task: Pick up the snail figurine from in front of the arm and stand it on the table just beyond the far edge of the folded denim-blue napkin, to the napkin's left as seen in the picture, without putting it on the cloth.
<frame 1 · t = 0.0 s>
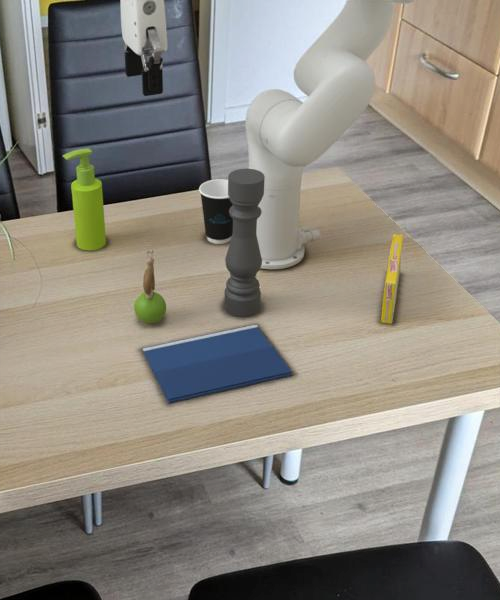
hand: (143, 84, 134), 37 cm above the table, tool pointing down, fingers open, 9 cm apart
candle holder: (242, 307, 145), on the table
soap dispenser: (89, 244, 166), on the table
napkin: (214, 362, 132), on the table
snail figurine: (151, 319, 144), on the table
candy box: (389, 298, 145), on the table
dixie cup: (219, 238, 165), on the table
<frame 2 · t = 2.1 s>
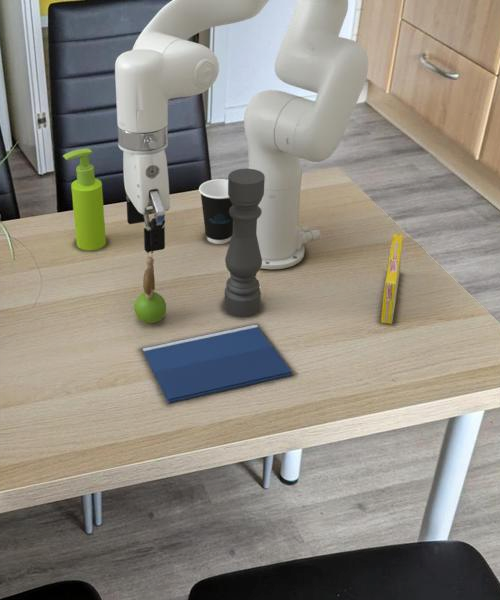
hand: (145, 235, 134), 17 cm above the table, tool pointing down, fingers open, 9 cm apart
nothing on the table moved.
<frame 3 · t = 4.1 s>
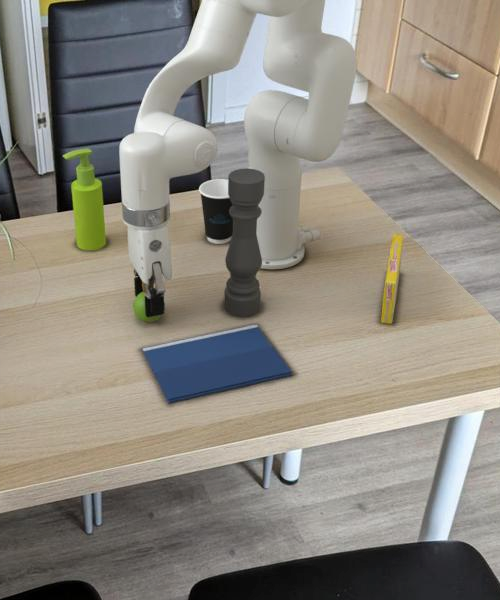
hand: (149, 304, 142), 3 cm above the table, tool pointing down, fingers closed on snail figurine, 5 cm apart
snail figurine: (150, 318, 144), on the table, touching gripper
everything else where it was.
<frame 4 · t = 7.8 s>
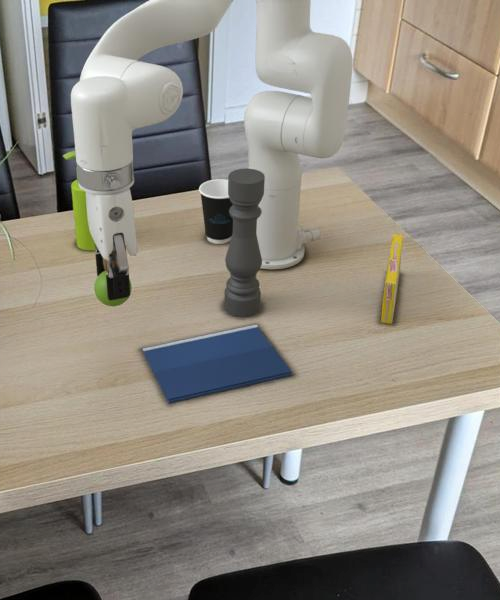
hand: (113, 285, 120), 18 cm above the table, tool pointing down, fingers closed on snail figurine, 5 cm apart
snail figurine: (114, 302, 123), point 14 cm above the table, touching gripper
everything else where it was.
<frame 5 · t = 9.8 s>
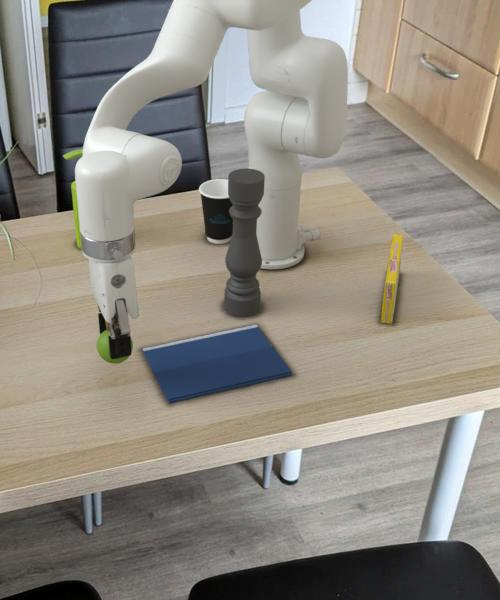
hand: (115, 343, 125), 8 cm above the table, tool pointing down, fingers closed on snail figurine, 5 cm apart
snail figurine: (116, 358, 127), point 4 cm above the table, touching gripper
everything else where it was.
when the fingers open (3 cm above the table, at t = 11.4 s): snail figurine stays where it is, on the table.
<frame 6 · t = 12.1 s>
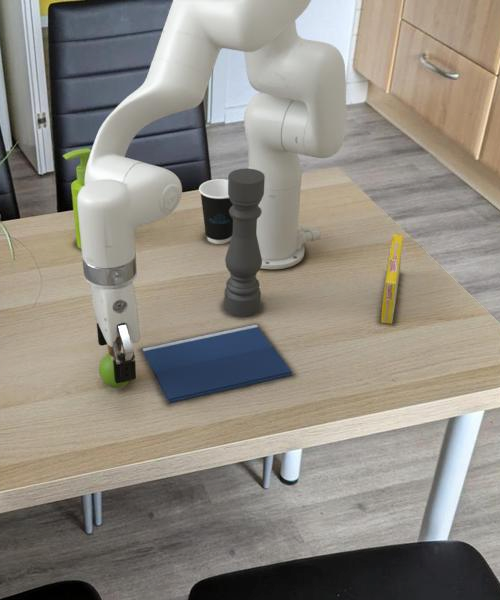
hand: (116, 361, 127), 4 cm above the table, tool pointing down, fingers open, 9 cm apart
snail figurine: (118, 381, 130), on the table
everything else where it was.
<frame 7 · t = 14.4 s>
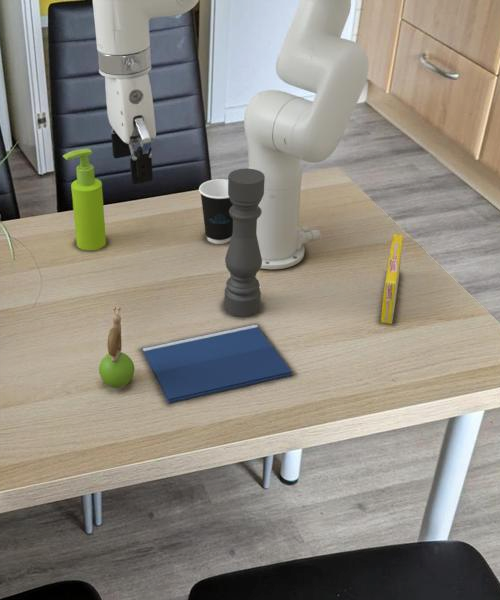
hand: (132, 168, 128), 28 cm above the table, tool pointing down, fingers open, 9 cm apart
nothing on the table moved.
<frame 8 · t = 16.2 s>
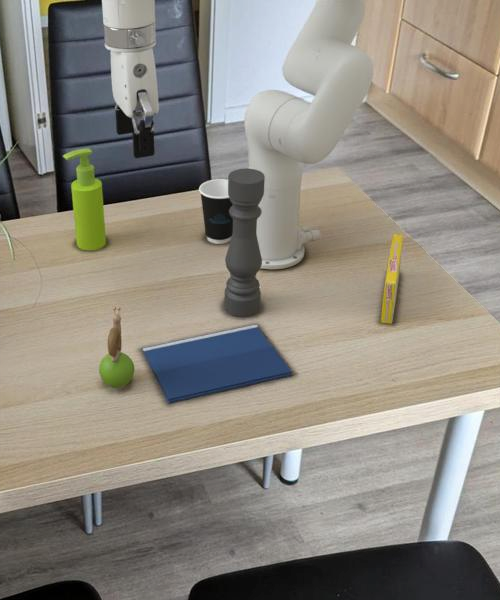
hand: (135, 144, 131), 30 cm above the table, tool pointing down, fingers open, 9 cm apart
nothing on the table moved.
at the end: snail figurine inside the target area on the table beside the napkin (2.3 cm from its centre), on the table; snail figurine tilted 0°; the gripper is holding nothing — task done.
